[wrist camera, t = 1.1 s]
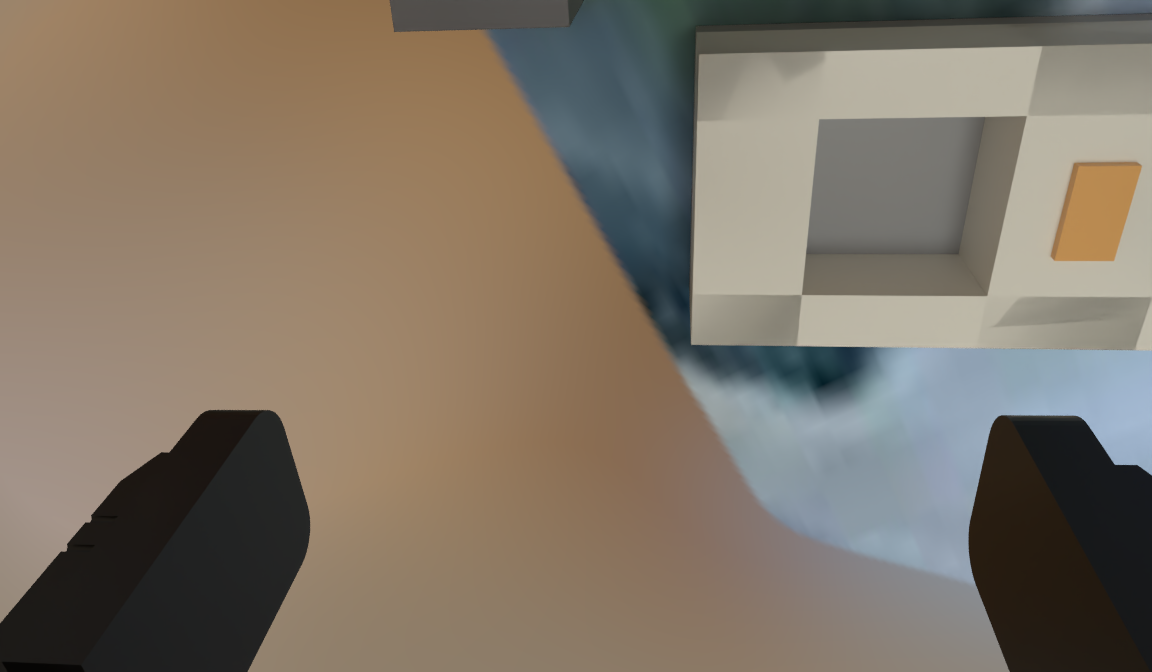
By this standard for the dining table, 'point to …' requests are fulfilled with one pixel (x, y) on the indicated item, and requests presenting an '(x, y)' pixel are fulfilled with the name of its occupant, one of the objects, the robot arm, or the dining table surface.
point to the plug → (481, 14)
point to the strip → (924, 184)
